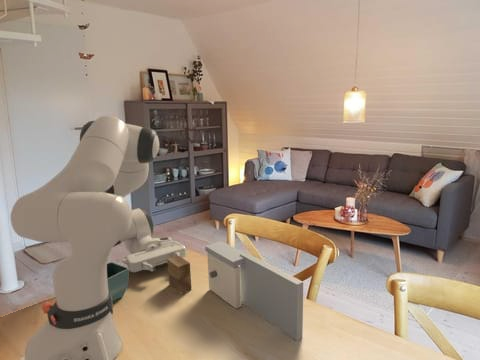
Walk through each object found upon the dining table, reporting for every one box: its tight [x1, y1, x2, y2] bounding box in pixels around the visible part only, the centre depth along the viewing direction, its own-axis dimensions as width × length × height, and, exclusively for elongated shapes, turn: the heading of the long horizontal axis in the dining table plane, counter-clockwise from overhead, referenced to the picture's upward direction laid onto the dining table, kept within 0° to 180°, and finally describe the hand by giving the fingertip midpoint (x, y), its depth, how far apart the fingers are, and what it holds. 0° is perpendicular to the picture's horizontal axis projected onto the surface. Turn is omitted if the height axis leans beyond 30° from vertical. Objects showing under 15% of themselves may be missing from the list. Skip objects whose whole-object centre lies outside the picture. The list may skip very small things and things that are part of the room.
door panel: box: [206, 252, 242, 309], centre depth 108 cm, size 3×14×12 cm, turn 37°
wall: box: [204, 240, 304, 341], centre depth 101 cm, size 6×34×15 cm, turn 37°
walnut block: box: [167, 256, 192, 295], centre depth 115 cm, size 4×7×9 cm, turn 37°
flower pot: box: [107, 261, 130, 303], centre depth 110 cm, size 9×9×9 cm
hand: (167, 264), depth 121 cm, fingers open, 8 cm apart
